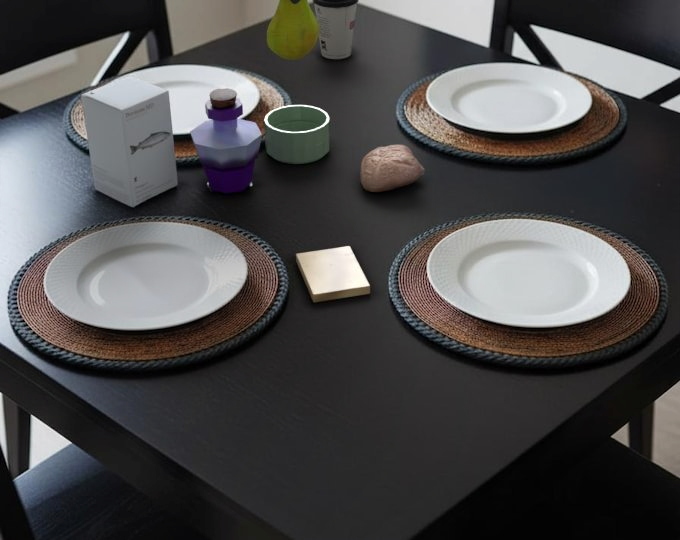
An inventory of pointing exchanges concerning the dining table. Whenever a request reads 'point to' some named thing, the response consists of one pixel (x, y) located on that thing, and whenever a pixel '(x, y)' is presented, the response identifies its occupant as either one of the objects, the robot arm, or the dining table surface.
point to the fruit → (292, 30)
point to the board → (332, 274)
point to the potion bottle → (227, 144)
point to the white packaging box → (130, 140)
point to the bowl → (297, 134)
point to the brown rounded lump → (389, 168)
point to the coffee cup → (335, 26)
